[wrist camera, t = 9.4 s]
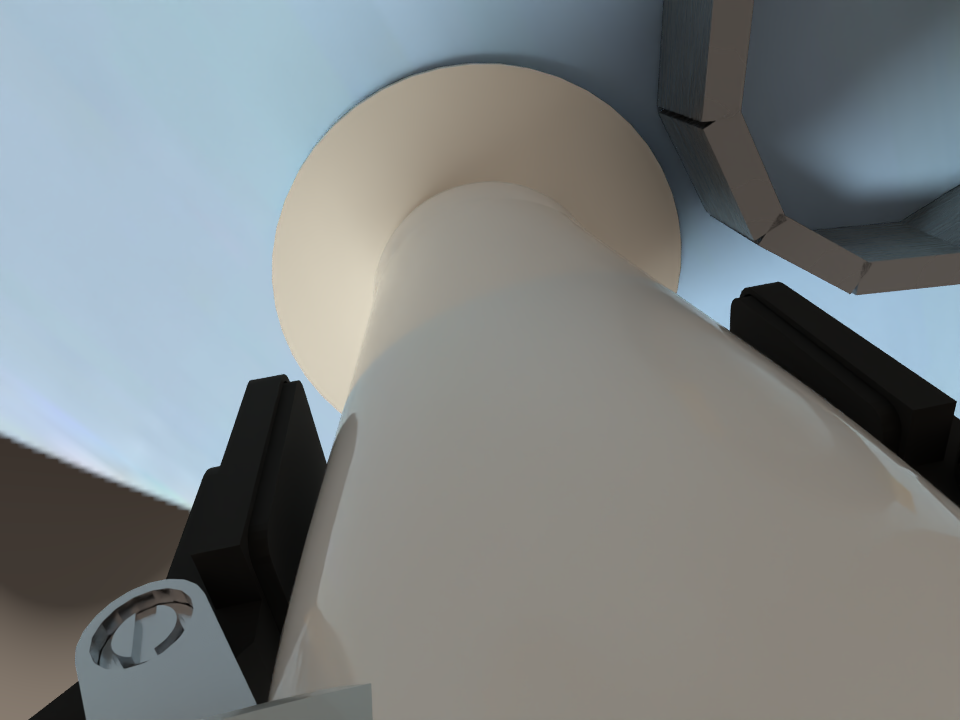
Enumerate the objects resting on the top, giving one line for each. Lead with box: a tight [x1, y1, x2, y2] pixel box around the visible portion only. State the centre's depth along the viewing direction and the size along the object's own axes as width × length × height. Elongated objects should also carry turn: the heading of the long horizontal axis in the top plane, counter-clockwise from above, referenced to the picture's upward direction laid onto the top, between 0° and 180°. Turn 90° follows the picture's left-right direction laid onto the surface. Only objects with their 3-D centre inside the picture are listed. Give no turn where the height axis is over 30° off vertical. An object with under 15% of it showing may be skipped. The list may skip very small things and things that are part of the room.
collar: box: [657, 0, 960, 295], centre depth 14 cm, size 12×11×3 cm
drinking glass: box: [267, 181, 960, 720], centre depth 10 cm, size 7×7×15 cm
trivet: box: [272, 63, 681, 414], centre depth 17 cm, size 10×10×1 cm
